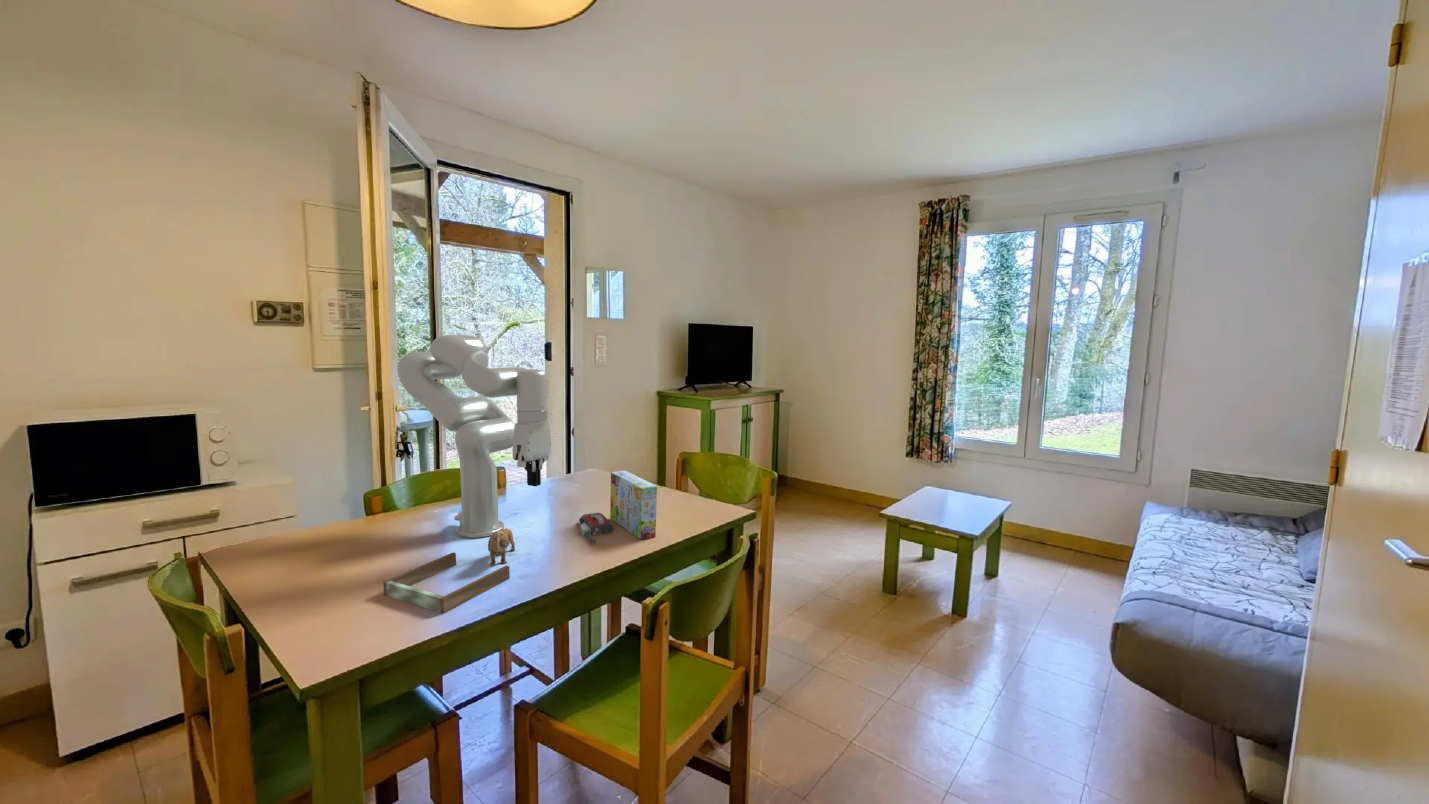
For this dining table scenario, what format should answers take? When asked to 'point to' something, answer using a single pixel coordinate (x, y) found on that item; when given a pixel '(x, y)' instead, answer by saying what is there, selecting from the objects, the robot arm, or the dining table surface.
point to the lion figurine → (500, 544)
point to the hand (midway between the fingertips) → (534, 484)
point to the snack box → (633, 504)
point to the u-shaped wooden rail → (403, 591)
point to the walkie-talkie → (595, 525)
